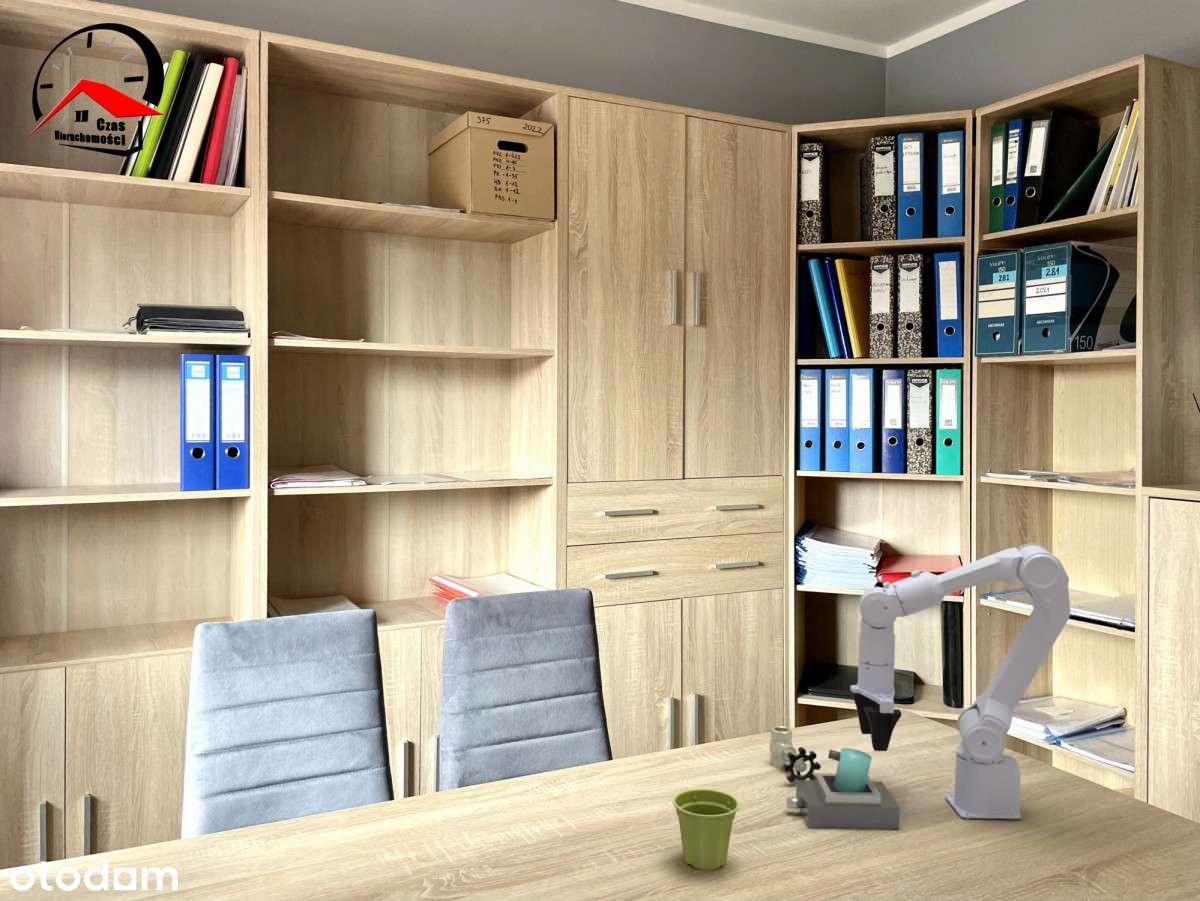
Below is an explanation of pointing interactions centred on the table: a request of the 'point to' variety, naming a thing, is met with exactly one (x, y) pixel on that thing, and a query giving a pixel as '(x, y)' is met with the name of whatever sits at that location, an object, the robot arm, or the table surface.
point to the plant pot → (705, 826)
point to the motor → (845, 805)
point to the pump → (851, 770)
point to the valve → (790, 755)
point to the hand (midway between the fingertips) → (873, 741)
